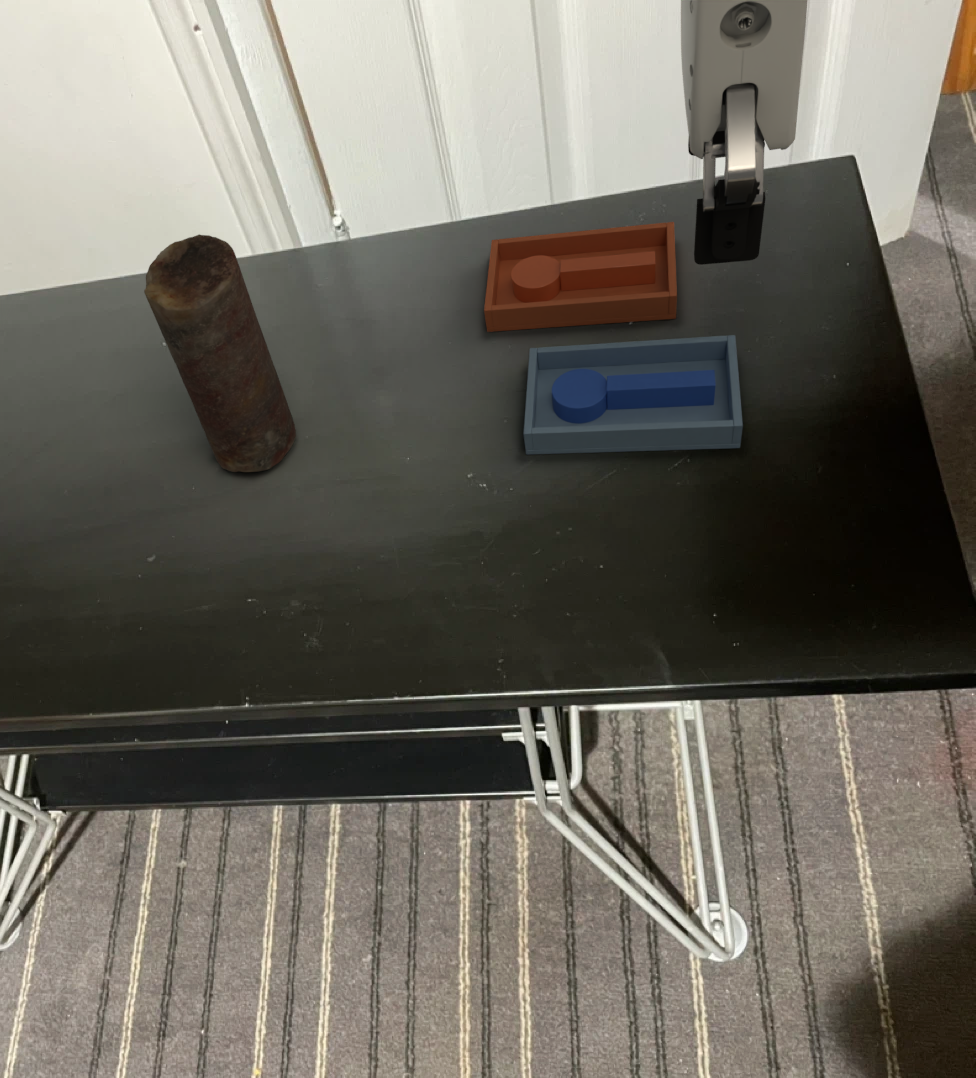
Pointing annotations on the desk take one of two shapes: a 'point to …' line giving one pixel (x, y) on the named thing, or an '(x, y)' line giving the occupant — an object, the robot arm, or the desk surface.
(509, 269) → the terracotta tray
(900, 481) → the desk surface
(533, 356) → the blue tray
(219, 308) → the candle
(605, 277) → the terracotta spoon
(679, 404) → the blue spoon
